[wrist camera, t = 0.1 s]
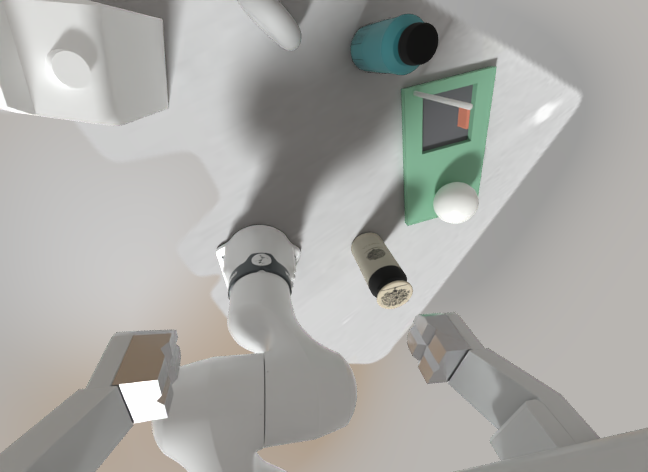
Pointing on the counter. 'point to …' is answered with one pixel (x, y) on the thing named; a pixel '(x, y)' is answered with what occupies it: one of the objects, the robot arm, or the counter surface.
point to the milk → (81, 61)
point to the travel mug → (381, 271)
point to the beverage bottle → (394, 45)
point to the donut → (274, 21)
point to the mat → (443, 137)
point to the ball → (455, 202)
